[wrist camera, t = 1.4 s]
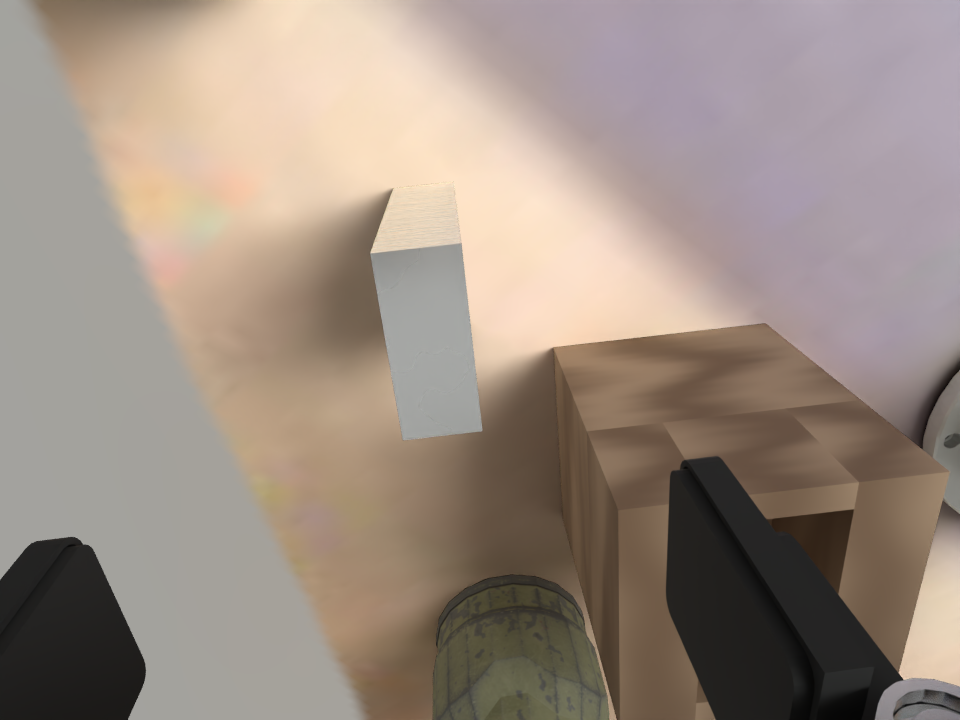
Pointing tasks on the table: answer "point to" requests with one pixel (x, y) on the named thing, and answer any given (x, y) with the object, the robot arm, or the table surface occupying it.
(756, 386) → the slotted wooden block
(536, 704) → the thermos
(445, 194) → the white block
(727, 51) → the table surface
